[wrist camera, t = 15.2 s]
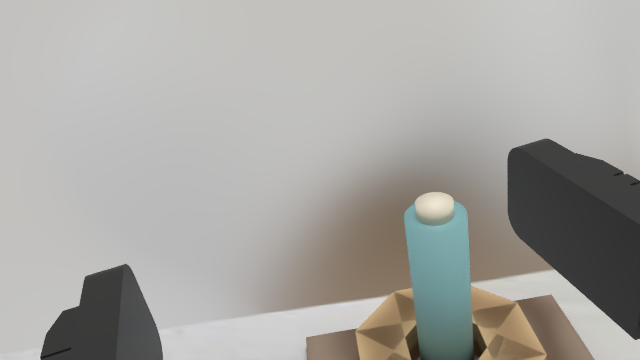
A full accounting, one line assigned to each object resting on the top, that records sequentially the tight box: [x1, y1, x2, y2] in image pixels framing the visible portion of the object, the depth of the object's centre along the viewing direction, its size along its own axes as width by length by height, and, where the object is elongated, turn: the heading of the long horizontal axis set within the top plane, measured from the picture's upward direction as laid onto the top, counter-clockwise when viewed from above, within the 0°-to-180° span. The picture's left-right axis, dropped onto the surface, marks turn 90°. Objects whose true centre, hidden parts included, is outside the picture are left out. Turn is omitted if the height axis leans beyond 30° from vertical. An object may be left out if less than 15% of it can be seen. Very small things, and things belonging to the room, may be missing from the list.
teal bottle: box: [404, 192, 474, 360], centre depth 38 cm, size 4×4×16 cm
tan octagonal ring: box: [355, 286, 547, 360], centre depth 41 cm, size 13×13×4 cm
